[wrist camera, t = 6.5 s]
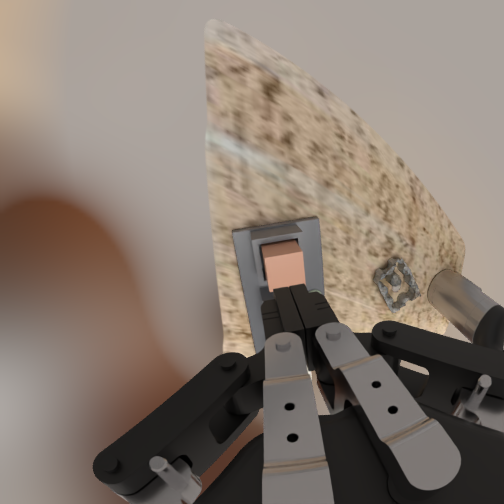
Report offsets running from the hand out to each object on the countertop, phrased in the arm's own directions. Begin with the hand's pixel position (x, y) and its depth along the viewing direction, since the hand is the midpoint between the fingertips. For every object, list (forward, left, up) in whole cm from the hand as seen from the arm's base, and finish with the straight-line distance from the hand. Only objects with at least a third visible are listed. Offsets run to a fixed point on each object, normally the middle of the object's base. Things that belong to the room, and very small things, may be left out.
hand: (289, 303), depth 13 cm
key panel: (-3, +19, -32) cm, 37 cm away
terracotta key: (-3, +9, -28) cm, 29 cm away
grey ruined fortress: (-25, +20, -32) cm, 46 cm away
